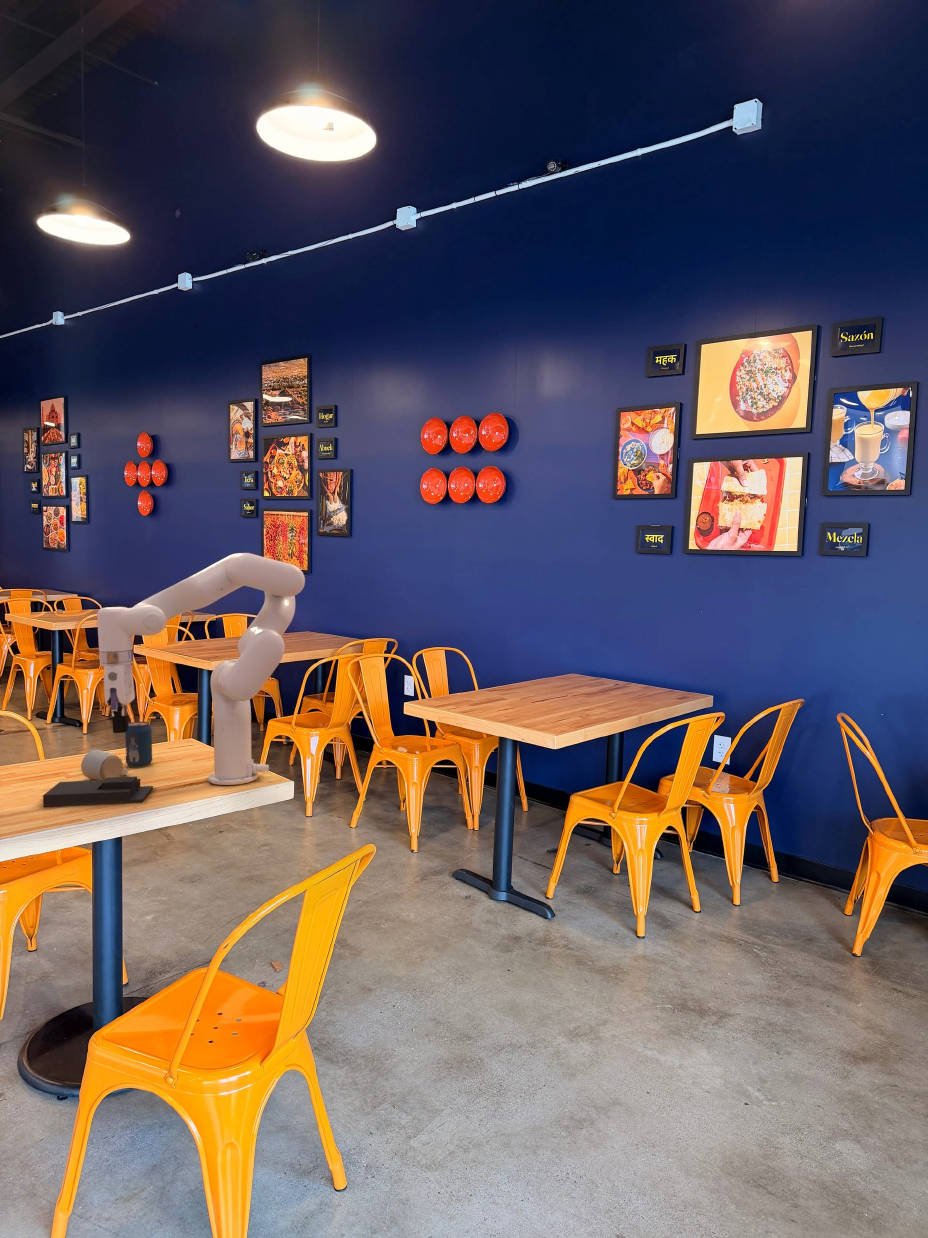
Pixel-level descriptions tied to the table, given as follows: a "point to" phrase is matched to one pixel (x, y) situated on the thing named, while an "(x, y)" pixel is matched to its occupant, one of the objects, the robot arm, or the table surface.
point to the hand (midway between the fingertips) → (120, 732)
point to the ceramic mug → (102, 765)
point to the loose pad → (120, 783)
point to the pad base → (92, 794)
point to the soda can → (138, 744)
